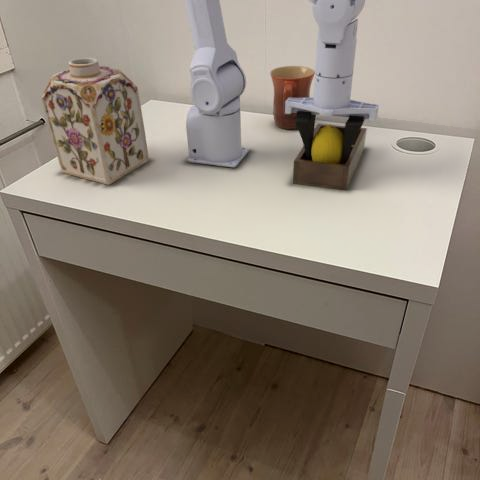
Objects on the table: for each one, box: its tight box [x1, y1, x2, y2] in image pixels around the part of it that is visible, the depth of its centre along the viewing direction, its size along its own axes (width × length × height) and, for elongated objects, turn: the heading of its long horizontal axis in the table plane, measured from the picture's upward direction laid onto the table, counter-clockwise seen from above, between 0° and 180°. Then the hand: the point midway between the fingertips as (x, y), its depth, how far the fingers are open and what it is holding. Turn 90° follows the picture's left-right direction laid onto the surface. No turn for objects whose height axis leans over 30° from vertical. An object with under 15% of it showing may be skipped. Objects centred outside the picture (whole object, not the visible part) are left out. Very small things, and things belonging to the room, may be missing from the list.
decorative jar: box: [41, 57, 150, 186], centre depth 86 cm, size 12×12×18 cm
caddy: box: [292, 123, 368, 191], centre depth 89 cm, size 9×17×4 cm, turn 160°
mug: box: [269, 65, 315, 130], centre depth 101 cm, size 12×9×10 cm
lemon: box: [311, 124, 344, 164], centre depth 84 cm, size 6×6×8 cm
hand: (326, 159), depth 85 cm, fingers closed on lemon, 5 cm apart
